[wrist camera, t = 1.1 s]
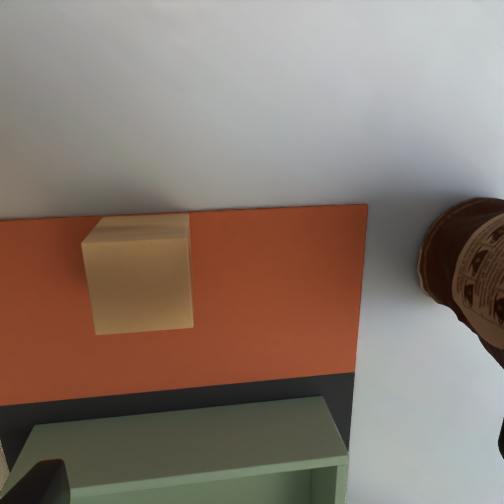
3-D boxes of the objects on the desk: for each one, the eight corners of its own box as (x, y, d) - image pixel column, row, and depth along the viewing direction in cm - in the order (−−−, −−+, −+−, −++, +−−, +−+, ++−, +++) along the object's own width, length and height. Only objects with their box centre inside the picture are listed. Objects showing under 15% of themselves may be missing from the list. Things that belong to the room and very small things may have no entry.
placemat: (339, 537, 29) (341, 541, 29) (42, 580, 26) (40, 585, 26) (366, 203, 21) (368, 204, 21) (-56, 222, 19) (-60, 224, 18)
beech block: (194, 289, 21) (194, 328, 17) (113, 294, 20) (95, 336, 17) (189, 213, 20) (187, 237, 16) (102, 216, 19) (80, 242, 15)
